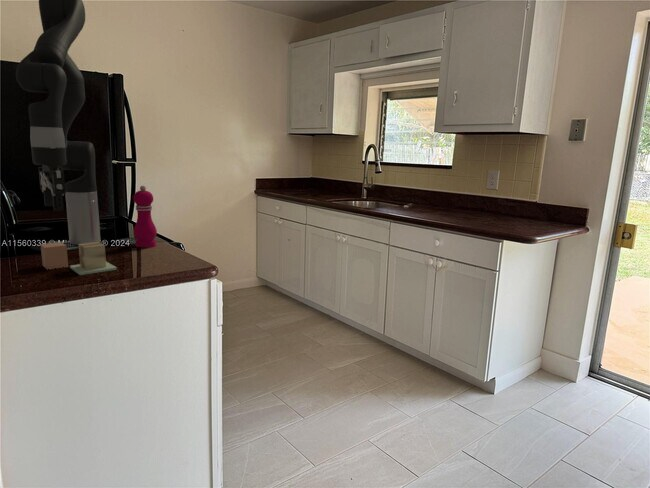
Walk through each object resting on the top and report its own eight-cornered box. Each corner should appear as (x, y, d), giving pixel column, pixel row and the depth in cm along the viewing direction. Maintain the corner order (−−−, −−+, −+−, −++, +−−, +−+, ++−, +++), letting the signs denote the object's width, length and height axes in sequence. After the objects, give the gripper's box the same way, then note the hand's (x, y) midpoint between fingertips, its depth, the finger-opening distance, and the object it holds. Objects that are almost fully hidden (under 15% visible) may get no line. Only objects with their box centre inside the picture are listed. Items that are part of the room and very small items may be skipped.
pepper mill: (161, 244, 151) (158, 185, 147) (151, 248, 144) (148, 186, 140) (140, 243, 152) (137, 184, 148) (129, 247, 145) (126, 186, 141)
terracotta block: (42, 265, 121) (40, 244, 120) (63, 263, 124) (61, 242, 123) (47, 269, 117) (44, 247, 116) (68, 267, 121) (66, 245, 119)
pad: (69, 267, 120) (69, 265, 120) (105, 262, 126) (105, 260, 126) (79, 275, 113) (79, 273, 113) (116, 269, 119) (116, 267, 119)
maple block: (80, 266, 120) (78, 244, 118) (100, 263, 123) (98, 242, 122) (85, 270, 116) (84, 247, 115) (106, 267, 119) (104, 245, 118)
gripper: (24, 144, 117) (31, 206, 120) (38, 146, 107) (45, 213, 110) (56, 145, 122) (62, 204, 125) (73, 146, 112) (78, 210, 115)
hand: (54, 208), depth 118 cm, fingers open, 8 cm apart
